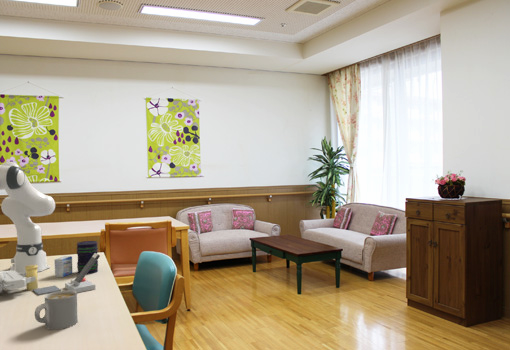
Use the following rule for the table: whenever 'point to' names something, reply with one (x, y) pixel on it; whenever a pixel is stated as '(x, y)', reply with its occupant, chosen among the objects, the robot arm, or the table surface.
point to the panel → (80, 286)
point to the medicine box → (63, 266)
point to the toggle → (86, 269)
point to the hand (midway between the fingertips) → (32, 276)
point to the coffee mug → (58, 310)
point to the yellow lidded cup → (31, 272)
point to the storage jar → (86, 255)
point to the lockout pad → (46, 290)
